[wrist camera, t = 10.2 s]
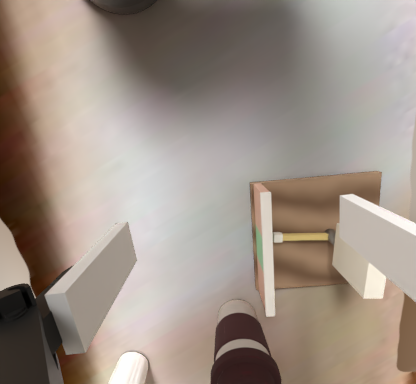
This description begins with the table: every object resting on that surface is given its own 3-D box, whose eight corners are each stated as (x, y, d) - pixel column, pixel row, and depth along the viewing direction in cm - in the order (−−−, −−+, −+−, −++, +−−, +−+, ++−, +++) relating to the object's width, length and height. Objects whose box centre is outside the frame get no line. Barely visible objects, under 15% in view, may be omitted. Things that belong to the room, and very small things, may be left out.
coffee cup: (269, 300, 45) (296, 378, 31) (251, 340, 48) (269, 431, 33) (220, 286, 45) (224, 359, 30) (204, 327, 47) (201, 414, 33)
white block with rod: (338, 214, 40) (391, 247, 28) (334, 252, 42) (382, 298, 30) (272, 215, 40) (297, 248, 28) (271, 253, 42) (294, 299, 30)
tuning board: (249, 182, 40) (250, 183, 39) (376, 171, 39) (381, 172, 38) (255, 286, 45) (256, 290, 44) (368, 277, 44) (373, 281, 43)
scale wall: (252, 183, 39) (260, 193, 32) (261, 183, 39) (271, 192, 32) (258, 289, 44) (266, 316, 37) (265, 289, 43) (275, 316, 37)
